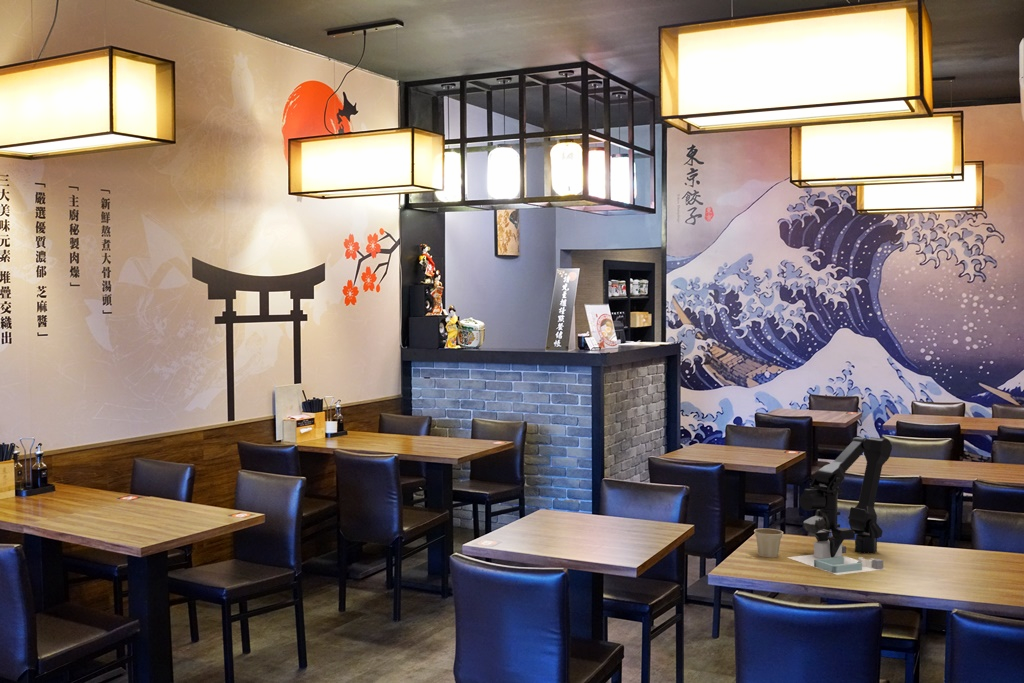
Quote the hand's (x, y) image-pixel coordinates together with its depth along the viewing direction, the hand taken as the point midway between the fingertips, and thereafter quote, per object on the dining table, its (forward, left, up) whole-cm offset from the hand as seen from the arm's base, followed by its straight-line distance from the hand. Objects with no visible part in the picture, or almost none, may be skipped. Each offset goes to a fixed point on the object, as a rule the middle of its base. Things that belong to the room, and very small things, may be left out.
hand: (827, 555), depth 304 cm
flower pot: (+16, -10, -2) cm, 19 cm away
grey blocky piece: (-4, +15, -1) cm, 15 cm away
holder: (+7, +12, -1) cm, 14 cm away
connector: (-1, 0, -1) cm, 1 cm away
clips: (-4, +13, -1) cm, 14 cm away
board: (+3, +7, -1) cm, 8 cm away
